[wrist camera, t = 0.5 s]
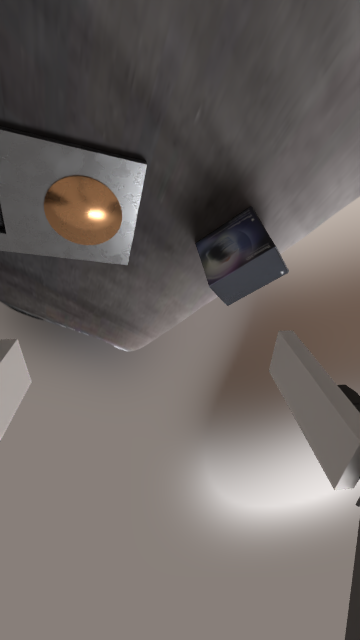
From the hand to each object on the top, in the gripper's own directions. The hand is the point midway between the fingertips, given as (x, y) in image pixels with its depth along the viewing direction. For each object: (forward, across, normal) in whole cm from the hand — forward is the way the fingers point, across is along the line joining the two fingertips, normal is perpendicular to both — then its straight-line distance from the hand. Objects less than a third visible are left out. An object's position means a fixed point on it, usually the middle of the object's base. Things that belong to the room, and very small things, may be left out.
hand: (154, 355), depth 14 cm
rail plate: (+29, -16, +4) cm, 33 cm away
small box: (+35, +13, -2) cm, 37 cm away
